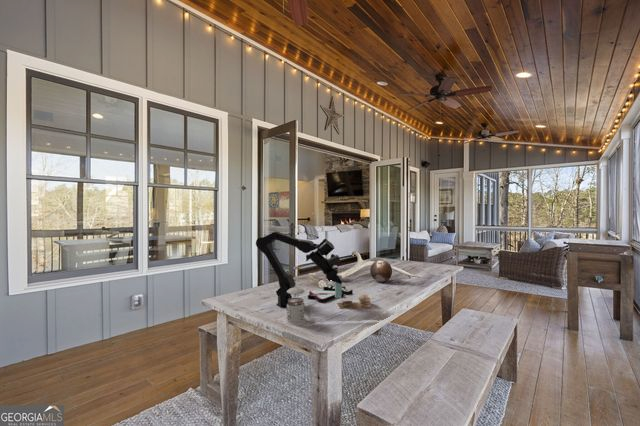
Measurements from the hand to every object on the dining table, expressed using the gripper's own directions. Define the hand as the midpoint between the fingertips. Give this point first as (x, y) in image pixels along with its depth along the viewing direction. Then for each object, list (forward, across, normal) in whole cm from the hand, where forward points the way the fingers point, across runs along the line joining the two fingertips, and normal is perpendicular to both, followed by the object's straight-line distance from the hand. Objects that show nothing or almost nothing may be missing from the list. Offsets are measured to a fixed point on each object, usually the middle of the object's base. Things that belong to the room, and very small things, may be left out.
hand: (341, 282), depth 157 cm
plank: (+4, 0, +6) cm, 8 cm away
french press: (-7, -16, +26) cm, 31 cm away
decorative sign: (+7, +20, +12) cm, 25 cm away
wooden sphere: (+35, +53, -17) cm, 66 cm away
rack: (+14, 0, +4) cm, 15 cm away
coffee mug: (+13, +60, +7) cm, 61 cm away
